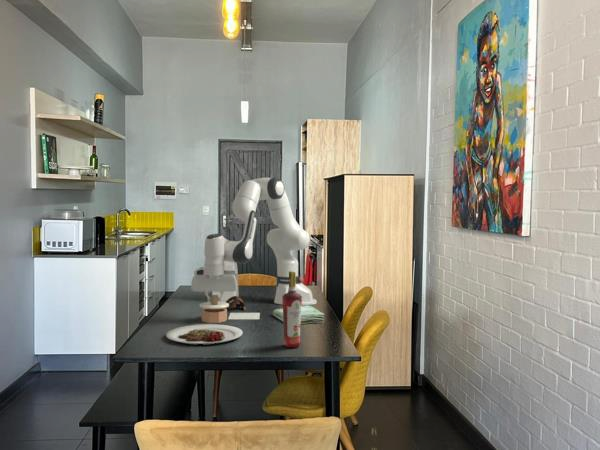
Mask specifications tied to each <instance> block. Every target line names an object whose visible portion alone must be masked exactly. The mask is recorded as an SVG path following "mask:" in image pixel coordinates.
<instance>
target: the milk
mask: <svg viewBox="0 0 600 450" xmlns="http://www.w3.org/2000/svg"><path fill="white" fill-rule="evenodd" d="M238 269H239V268H238V263H236V262H228V261H224V270H225V271H235V272H237V274H238V275H239V273H238V271H239V270H238ZM224 274H225V273H224ZM236 281H237V290H236V291H235V292H224V293H223V295H222V297H221V302H226V301H227V300H228V299H229V298H231V297H233V296H237V297H240V295H239V294H240V293H239V278H238V279H237V280H236ZM211 295H218V297H220V296H221V294H220V292H212V294H211ZM231 302H232V301H231ZM229 303H230V302H229Z"/></svg>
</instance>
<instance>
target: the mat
mask: <svg viewBox="0 0 600 450" xmlns="http://www.w3.org/2000/svg"><path fill="white" fill-rule="evenodd" d="M260 316H261V313H260V312H229V316H228V317H227V320H260Z"/></svg>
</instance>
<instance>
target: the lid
mask: <svg viewBox="0 0 600 450" xmlns="http://www.w3.org/2000/svg"><path fill="white" fill-rule="evenodd" d="M210 297H211V302H208V301H206V302H201V303H199V308H201V309H221V308H227V307H229V303H226V302H218V295H212V294H211V295H210Z"/></svg>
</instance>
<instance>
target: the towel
mask: <svg viewBox="0 0 600 450" xmlns="http://www.w3.org/2000/svg"><path fill="white" fill-rule="evenodd" d="M272 316H273V317H275V318H277V319H279V321H281V322H283V308H277V309H274V310H273V311H272ZM324 316H325V313H324V312H321V311H320V310H318V308H317V309H316V307H314V306H312V305H302V307H301V322H300V325H306V324H307V325H308V324H316V323H317V324H321V323H324V320H325V317H324Z"/></svg>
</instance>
